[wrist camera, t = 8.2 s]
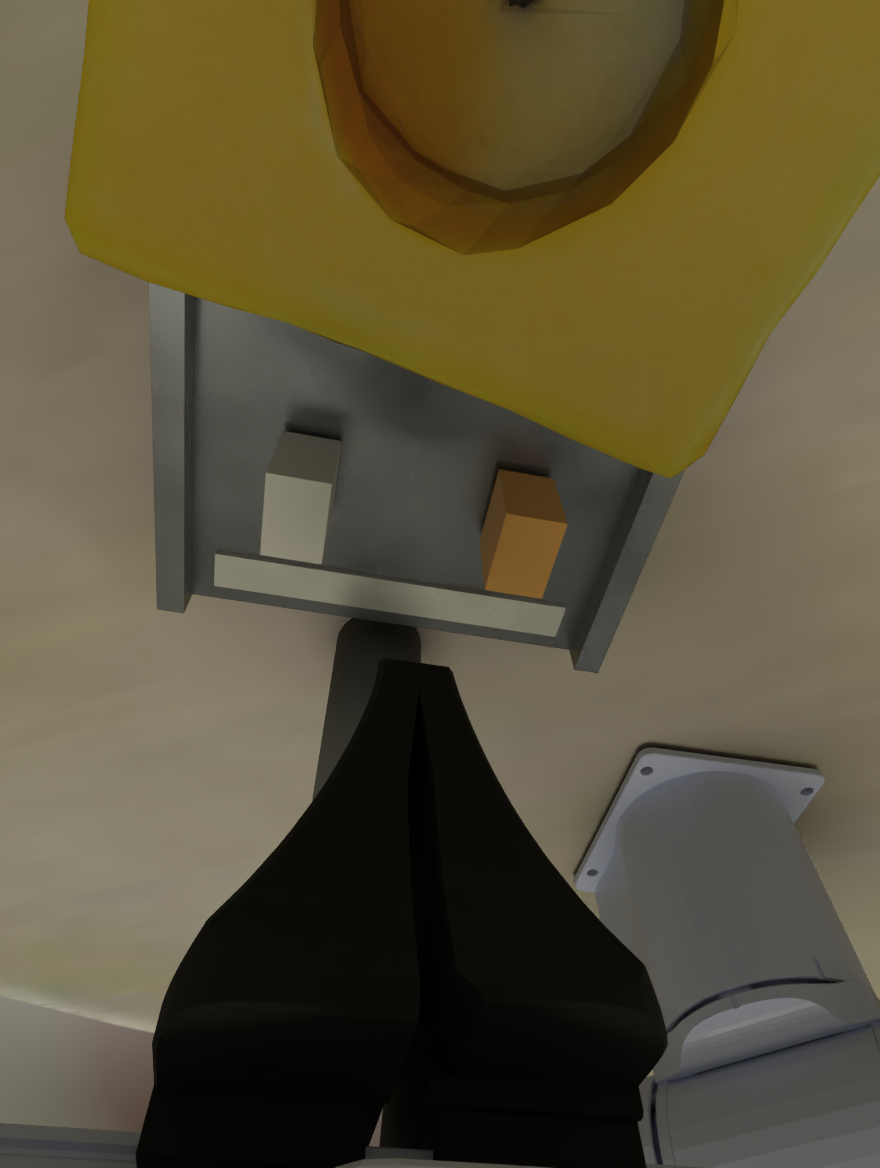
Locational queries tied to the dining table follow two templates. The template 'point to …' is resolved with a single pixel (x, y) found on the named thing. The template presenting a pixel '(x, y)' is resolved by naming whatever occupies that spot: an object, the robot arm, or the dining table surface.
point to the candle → (491, 185)
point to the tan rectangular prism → (521, 534)
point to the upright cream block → (299, 497)
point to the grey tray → (374, 487)
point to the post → (358, 681)
